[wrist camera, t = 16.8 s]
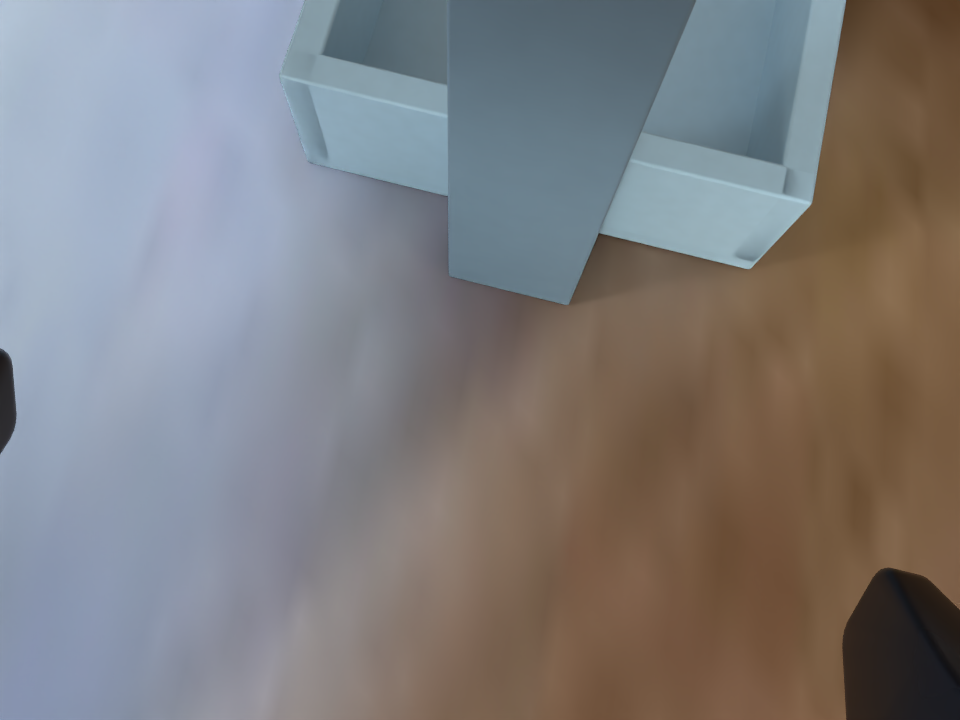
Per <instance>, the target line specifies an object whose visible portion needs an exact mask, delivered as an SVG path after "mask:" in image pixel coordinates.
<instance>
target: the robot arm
mask: <svg viewBox="0 0 960 720" xmlns="http://www.w3.org/2000/svg"><path fill="white" fill-rule="evenodd" d="M15 424H16V402H15V391H14V379H13V368H12V361H11V358H10V356H9V355H8V353H7V352H5V351H4V350H3V349H0V454H1V452H2V451H3V449H4V448H5V446H6V444H7V443H8V441H9V440H10V438H11V436H12V434H13V431H14V428H15ZM843 666H844V684H845V702H846V720H960V610H959V609H958V608H957V607H956V606H955V605H954V604H953V603H952V602H951V601H950V600H949V599H948V598H947V597H946V596H945V595H944V594H943V593H942V592H941V591H940V590H939V589H938V588H937V587H936V586H935V585H934V584H933V583H932V582H931V581H929V580H928V579H927V578H925V577H923V576H921V575H918V574H914V573H909V572H905V571H901V570H897V569H893V568H884V569H881V570H880V571H878V572H877V573H876V574H875V576H874V577H873V578H872V580H871V582H870V584H869V585H868V587H867V589H866V591H865V592H864V594H863V596H862V598H861V599H860V601H859V603H858V604H857V606H856V608H855V610H854V611H853V613H852V615H851V617H850V618H849V620H848V622H847V624H846V627H845V630H844V635H843Z"/></svg>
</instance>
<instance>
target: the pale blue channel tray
mask: <svg viewBox="0 0 960 720" xmlns="http://www.w3.org/2000/svg"><path fill="white" fill-rule="evenodd" d="M845 5H846V0H305V1H304V4H303V7H302V10H301V13H300V16H299V19H298V22H297V25H296V28H295V31H294V33H293V36H292V39H291V42H290V45H289V48H288V50H287V53H286V56H285V59H284V62H283V65H282V68H281V71H280V74H279V78H280V81H281V84H282V87H283V89H284V92H285V95H286V98H287V101H288V104H289V107H290V110H291V113H292V116H293V119H294V122H295V125H296V128H297V131H298V134H299V137H300V140H301V143H302V146H303V149H304V152H305V155H306V158H307V161H308V162H309V163H313V164H317V165H321V166H325V167H329V168H333V169H337V170H341V171H346V172H350V173H354V174H358V175H362V176H366V177H370V178H374V179H379V180H383V181H387V182H391V183H395V184H399V185H403V186H407V187H411V188H416V189H420V190H424V191H428V192H432V193H436V194H440V195H444V196H448V254H449V276H451V277H455V278H459V279H463V280H467V281H471V282H475V283H479V284H483V285H487V286H491V287H495V288H499V289H503V290H507V291H512V292H516V293H520V294H524V295H528V296H532V297H536V298H540V299H544V300H548V301H552V302H556V303H560V304H565V305H568V304H569V303H570V301H571V298H572V296H573V294H574V291H575V289H576V286H577V284H578V282H579V279H580V277H581V275H582V272H583V270H584V267H585V265H586V263H587V260H588V258H589V255H590V253H591V251H592V248H593V246H594V244H595V241H596V239H597V236H598V234H599V233H601V234H605V235H609V236H613V237H617V238H621V239H626V240H630V241H634V242H638V243H642V244H646V245H650V246H654V247H659V248H663V249H667V250H671V251H675V252H679V253H683V254H687V255H691V256H696V257H700V258H704V259H708V260H712V261H716V262H720V263H724V264H729V265H733V266H737V267H741V268H745V269H751V268H752V267H753V266H754V265H755V263H756V262H757V261H758V260H759V259H760V258H761V257H762V256H763V255H764V254H765V253H766V252H767V251H768V250H769V249H770V248H771V247H772V245H773V244H774V243H775V242H776V241H777V240H778V239H779V238H780V237H781V236H782V235H783V234H784V233H785V232H786V231H787V230H788V229H789V227H790V226H791V225H792V224H793V223H794V222H795V221H796V220H797V219H798V218H799V217H800V216H801V215H802V214H803V213H804V212H805V211H806V209H807V208H808V207H809V206H810V205H811V204H812V201H813V195H814V189H815V183H816V177H817V170H818V164H819V158H820V152H821V146H822V140H823V134H824V129H825V123H826V117H827V111H828V105H829V99H830V93H831V87H832V81H833V76H834V70H835V64H836V58H837V52H838V46H839V40H840V34H841V28H842V23H843V17H844V11H845Z"/></svg>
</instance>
